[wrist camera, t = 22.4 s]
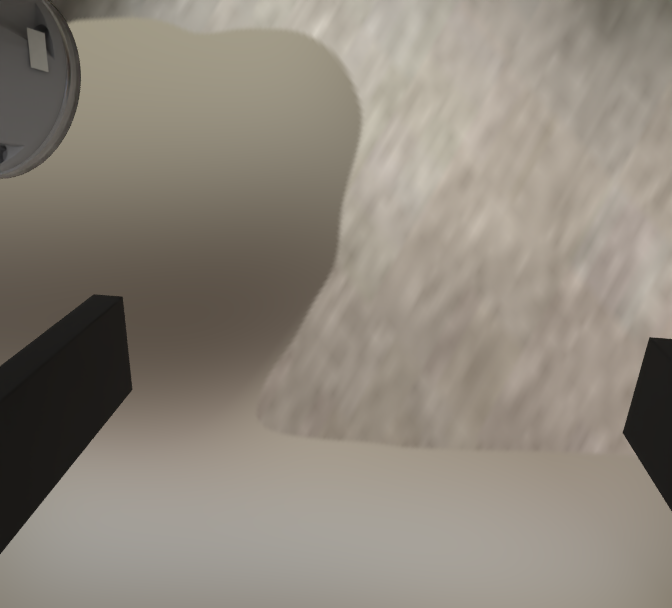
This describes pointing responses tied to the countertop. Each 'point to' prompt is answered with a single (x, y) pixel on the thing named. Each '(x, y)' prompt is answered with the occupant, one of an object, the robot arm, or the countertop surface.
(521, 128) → the countertop surface
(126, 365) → the robot arm
